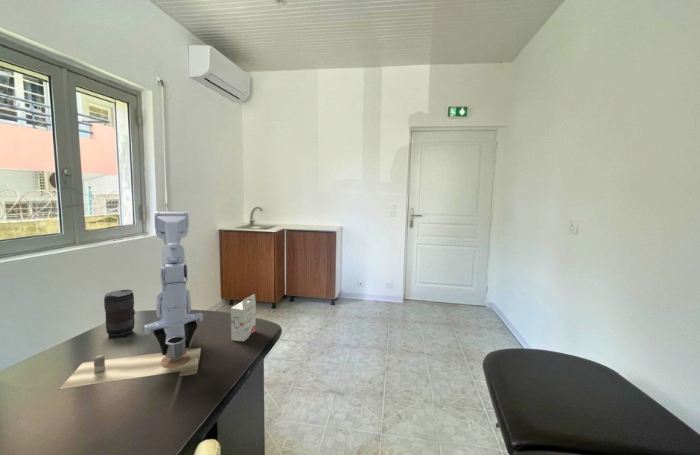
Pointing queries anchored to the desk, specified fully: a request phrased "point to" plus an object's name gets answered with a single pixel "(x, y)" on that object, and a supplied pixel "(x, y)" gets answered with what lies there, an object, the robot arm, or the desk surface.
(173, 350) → the collar
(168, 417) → the desk surface
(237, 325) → the ink cartridge box
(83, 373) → the stand board
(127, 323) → the camera lens
